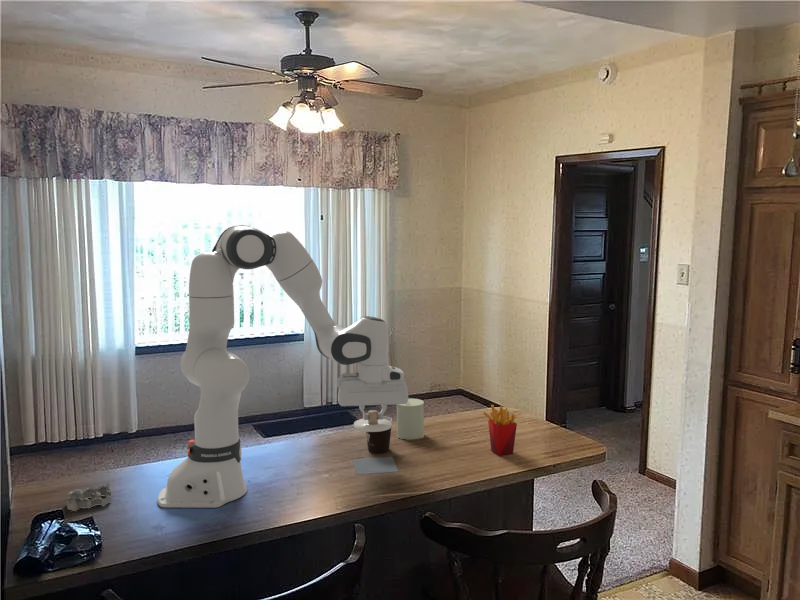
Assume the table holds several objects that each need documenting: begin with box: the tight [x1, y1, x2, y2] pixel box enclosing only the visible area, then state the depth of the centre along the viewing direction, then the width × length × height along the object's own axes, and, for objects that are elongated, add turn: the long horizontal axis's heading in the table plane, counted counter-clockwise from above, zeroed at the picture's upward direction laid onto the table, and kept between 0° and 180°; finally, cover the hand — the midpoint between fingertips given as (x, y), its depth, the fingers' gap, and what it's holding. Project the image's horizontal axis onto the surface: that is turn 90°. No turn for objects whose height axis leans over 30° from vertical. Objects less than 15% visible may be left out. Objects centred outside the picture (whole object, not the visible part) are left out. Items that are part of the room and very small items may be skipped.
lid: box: [353, 409, 393, 433], centre depth 194 cm, size 11×11×4 cm
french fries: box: [482, 404, 518, 457], centre depth 204 cm, size 9×8×15 cm
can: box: [396, 397, 425, 441], centre depth 222 cm, size 9×9×12 cm
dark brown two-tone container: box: [365, 415, 393, 455], centre depth 209 cm, size 12×9×10 cm
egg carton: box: [65, 483, 112, 510], centre depth 172 cm, size 11×8×4 cm
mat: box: [352, 456, 399, 476], centre depth 196 cm, size 12×12×1 cm
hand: (373, 419), depth 194 cm, fingers closed on lid, 3 cm apart
